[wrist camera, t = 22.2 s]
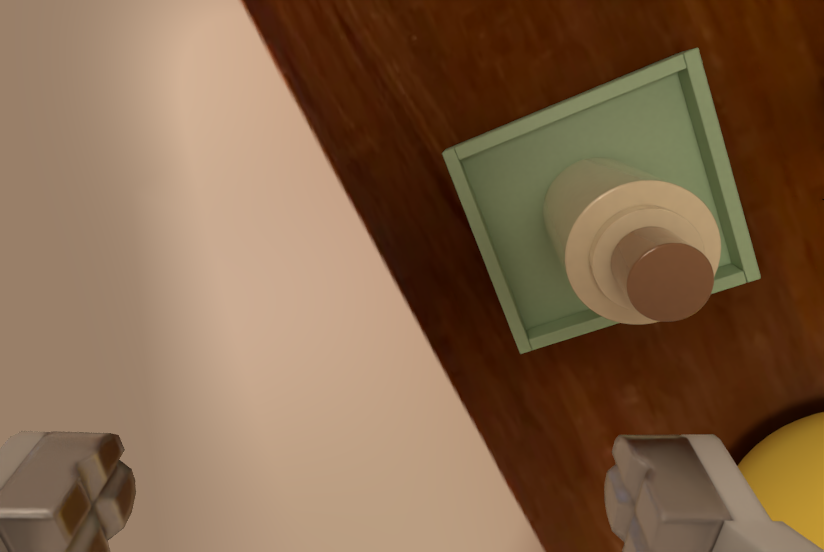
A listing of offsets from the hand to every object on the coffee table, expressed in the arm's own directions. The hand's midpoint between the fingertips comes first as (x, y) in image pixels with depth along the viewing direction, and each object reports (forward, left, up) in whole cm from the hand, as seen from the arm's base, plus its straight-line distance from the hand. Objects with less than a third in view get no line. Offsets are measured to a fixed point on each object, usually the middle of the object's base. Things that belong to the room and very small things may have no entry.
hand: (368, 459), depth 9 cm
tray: (+8, -4, -28) cm, 30 cm away
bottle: (+8, -4, -28) cm, 29 cm away
